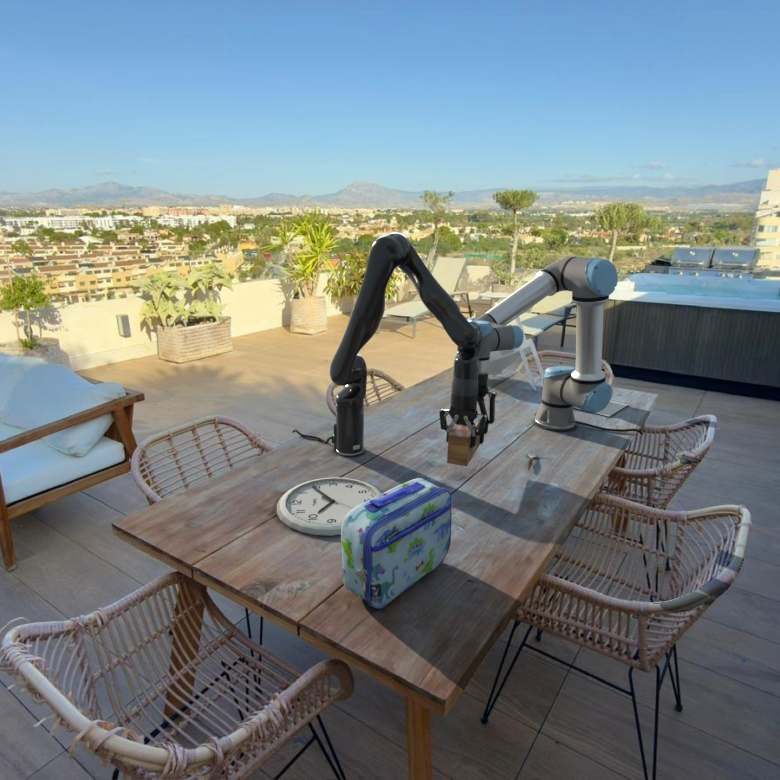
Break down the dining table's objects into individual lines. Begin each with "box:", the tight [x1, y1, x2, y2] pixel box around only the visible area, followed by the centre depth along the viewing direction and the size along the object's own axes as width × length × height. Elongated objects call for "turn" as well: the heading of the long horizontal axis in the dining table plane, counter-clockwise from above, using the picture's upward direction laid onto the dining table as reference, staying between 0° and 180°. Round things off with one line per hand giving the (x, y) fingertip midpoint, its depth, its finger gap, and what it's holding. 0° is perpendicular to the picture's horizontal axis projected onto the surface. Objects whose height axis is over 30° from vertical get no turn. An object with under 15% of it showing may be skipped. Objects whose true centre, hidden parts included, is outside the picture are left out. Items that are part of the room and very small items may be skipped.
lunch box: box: [340, 477, 452, 610], centre depth 110 cm, size 26×11×21 cm, turn 134°
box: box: [446, 412, 481, 467], centre depth 161 cm, size 22×6×9 cm, turn 158°
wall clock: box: [276, 476, 383, 537], centre depth 142 cm, size 30×2×30 cm
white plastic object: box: [487, 316, 545, 391], centre depth 258 cm, size 37×45×31 cm
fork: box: [527, 446, 538, 471], centre depth 171 cm, size 3×16×2 cm, turn 160°
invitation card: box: [573, 400, 629, 418], centre depth 226 cm, size 21×1×15 cm
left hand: (461, 445), depth 155 cm, fingers closed on box, 6 cm apart
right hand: (471, 440), depth 168 cm, fingers closed on box, 6 cm apart
